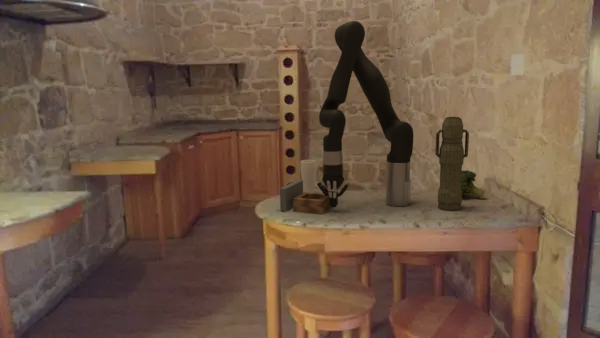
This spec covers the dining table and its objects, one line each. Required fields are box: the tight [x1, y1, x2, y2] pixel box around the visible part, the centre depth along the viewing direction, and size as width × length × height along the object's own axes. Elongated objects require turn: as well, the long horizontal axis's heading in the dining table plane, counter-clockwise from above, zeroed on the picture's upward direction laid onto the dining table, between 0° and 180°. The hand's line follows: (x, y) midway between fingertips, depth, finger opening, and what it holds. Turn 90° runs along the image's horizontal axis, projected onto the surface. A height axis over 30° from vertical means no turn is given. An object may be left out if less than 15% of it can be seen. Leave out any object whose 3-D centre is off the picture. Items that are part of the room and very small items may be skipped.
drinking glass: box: [299, 159, 317, 193], centre depth 209 cm, size 7×7×15 cm
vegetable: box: [461, 170, 486, 200], centre depth 200 cm, size 12×13×15 cm
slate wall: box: [279, 179, 303, 213], centre depth 190 cm, size 2×17×9 cm, turn 157°
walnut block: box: [292, 192, 332, 215], centre depth 186 cm, size 12×12×5 cm
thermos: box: [435, 116, 470, 212], centre depth 181 cm, size 9×12×35 cm
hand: (333, 206), depth 183 cm, fingers closed
